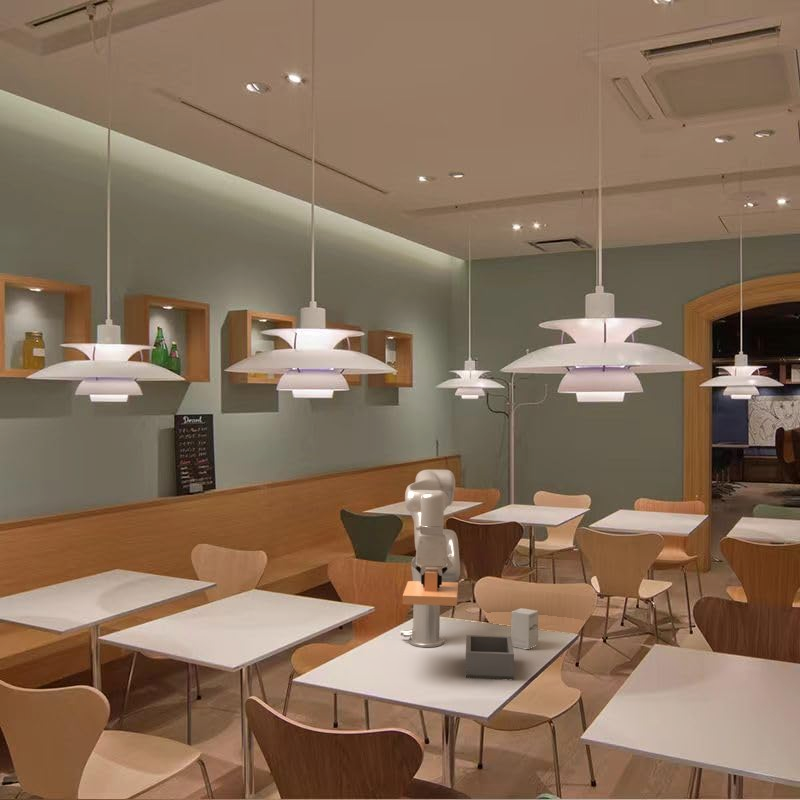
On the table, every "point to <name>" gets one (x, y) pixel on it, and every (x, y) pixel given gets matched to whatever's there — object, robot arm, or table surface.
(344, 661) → the table surface
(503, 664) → the tub
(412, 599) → the lid
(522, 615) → the supplement box
